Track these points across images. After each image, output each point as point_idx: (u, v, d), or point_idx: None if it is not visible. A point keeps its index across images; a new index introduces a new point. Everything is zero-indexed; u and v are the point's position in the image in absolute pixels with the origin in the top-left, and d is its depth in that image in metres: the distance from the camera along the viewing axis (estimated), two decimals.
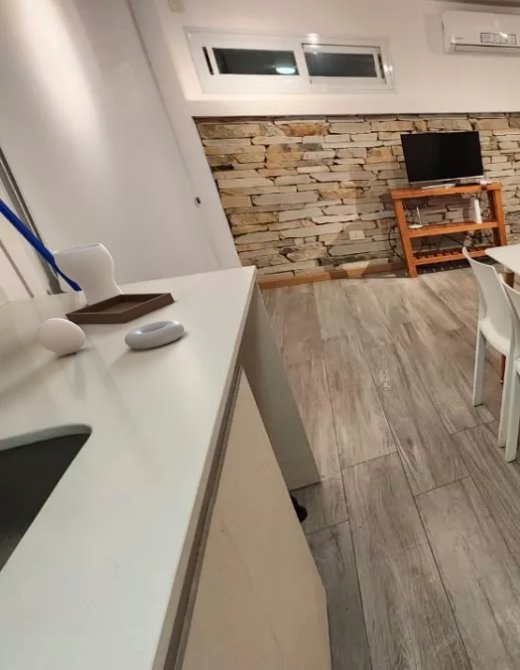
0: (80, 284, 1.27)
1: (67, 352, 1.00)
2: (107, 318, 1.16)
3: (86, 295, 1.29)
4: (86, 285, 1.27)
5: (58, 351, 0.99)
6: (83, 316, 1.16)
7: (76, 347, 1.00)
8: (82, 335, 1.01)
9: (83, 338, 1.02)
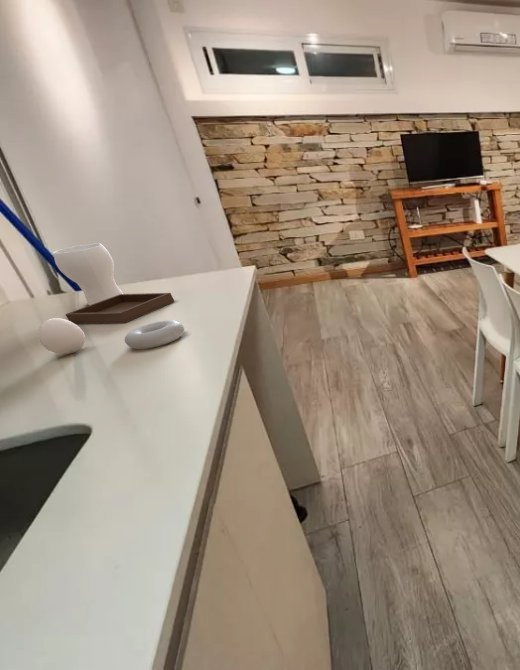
0: (80, 284, 1.27)
1: (67, 352, 1.00)
2: (107, 318, 1.16)
3: (86, 295, 1.29)
4: (86, 285, 1.27)
5: (58, 351, 0.99)
6: (83, 316, 1.16)
7: (76, 347, 1.00)
8: (82, 335, 1.01)
9: (83, 338, 1.02)
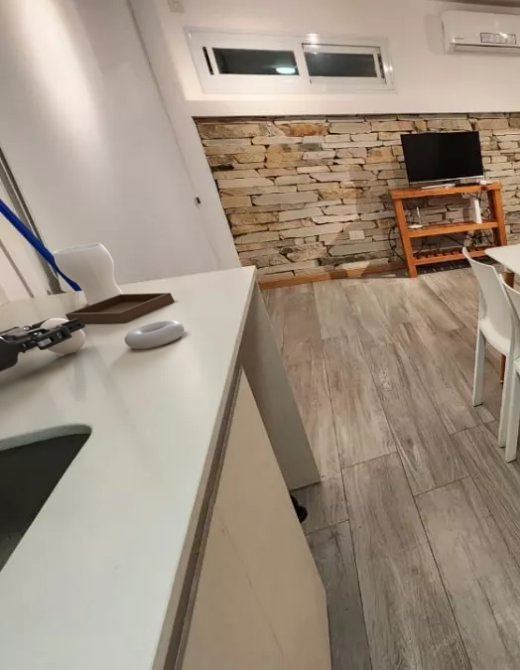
0: (80, 284, 1.27)
1: (67, 352, 1.00)
2: (107, 318, 1.16)
3: (86, 295, 1.29)
4: (86, 285, 1.27)
5: (58, 351, 0.99)
6: (83, 316, 1.16)
7: (76, 347, 1.00)
8: (82, 335, 1.01)
9: (83, 338, 1.02)
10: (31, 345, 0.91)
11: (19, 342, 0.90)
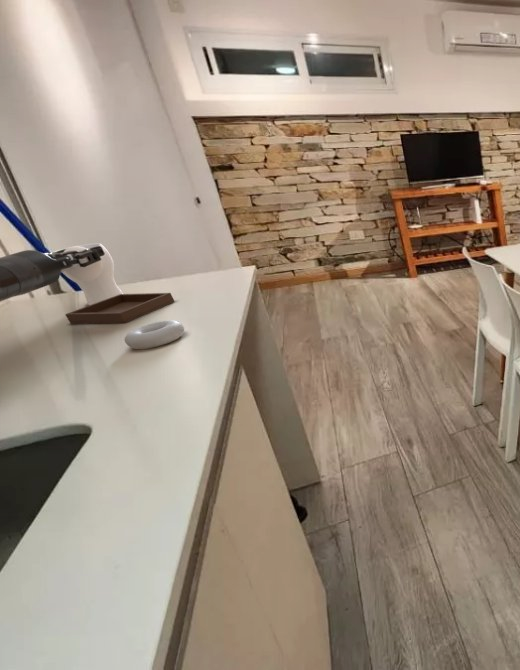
0: (80, 284, 1.27)
1: (89, 277, 1.09)
2: (107, 318, 1.16)
3: (86, 295, 1.29)
4: (86, 285, 1.27)
5: (82, 276, 1.08)
6: (83, 316, 1.16)
7: (98, 273, 1.10)
8: (101, 263, 1.11)
9: (102, 266, 1.11)
10: (72, 263, 1.02)
11: (61, 259, 1.00)
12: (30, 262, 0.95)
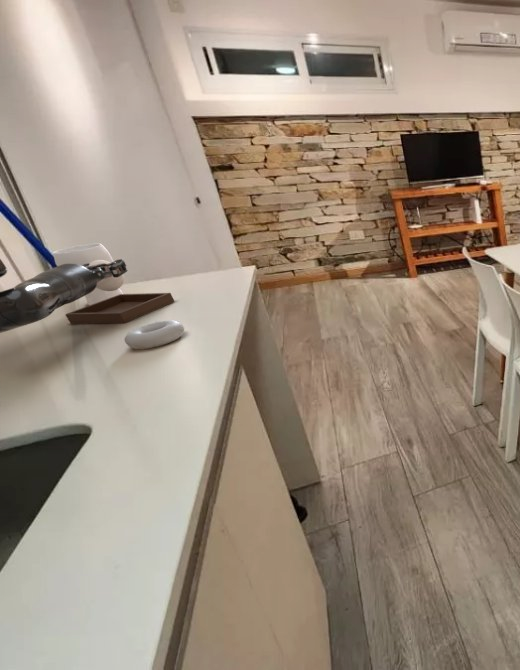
0: None
1: (114, 288, 1.19)
2: (107, 318, 1.16)
3: (86, 295, 1.29)
4: None
5: (108, 287, 1.17)
6: (83, 316, 1.16)
7: (121, 284, 1.20)
8: None
9: (123, 277, 1.21)
10: (106, 274, 1.12)
11: (96, 271, 1.10)
12: (75, 273, 1.05)
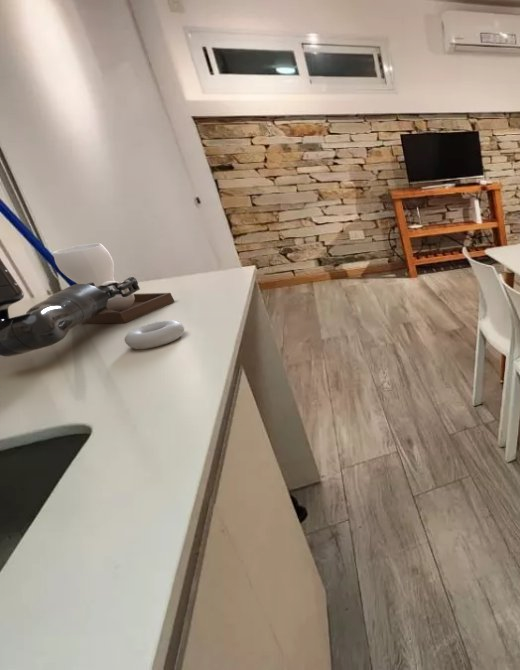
0: None
1: (125, 308, 1.21)
2: (107, 318, 1.16)
3: None
4: None
5: (119, 307, 1.20)
6: None
7: (131, 304, 1.22)
8: (133, 294, 1.23)
9: None
10: (115, 293, 1.14)
11: (107, 290, 1.13)
12: (86, 294, 1.07)
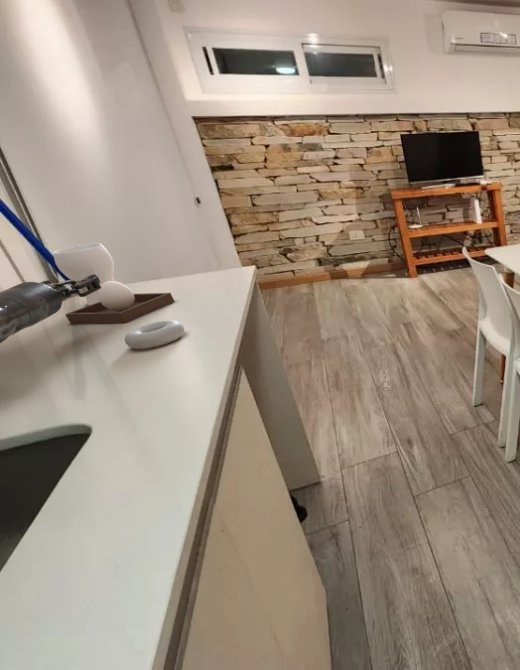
0: None
1: (125, 308, 1.21)
2: (107, 318, 1.16)
3: None
4: None
5: (119, 307, 1.20)
6: (83, 316, 1.16)
7: (131, 304, 1.22)
8: (133, 294, 1.23)
9: None
10: (71, 293, 1.01)
11: (61, 290, 1.00)
12: (36, 294, 0.94)
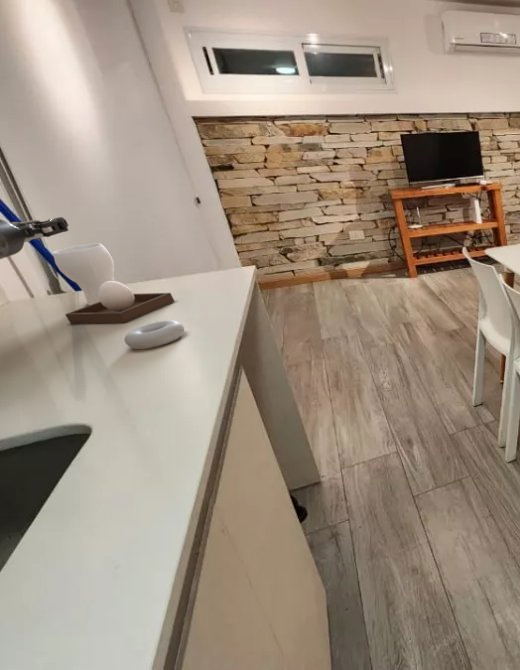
0: (80, 284, 1.27)
1: (125, 308, 1.21)
2: (107, 318, 1.16)
3: (86, 295, 1.29)
4: (86, 285, 1.27)
5: (119, 307, 1.20)
6: (83, 316, 1.16)
7: (131, 304, 1.22)
8: (133, 294, 1.23)
9: None
10: (34, 232, 0.95)
11: (23, 228, 0.94)
12: None
